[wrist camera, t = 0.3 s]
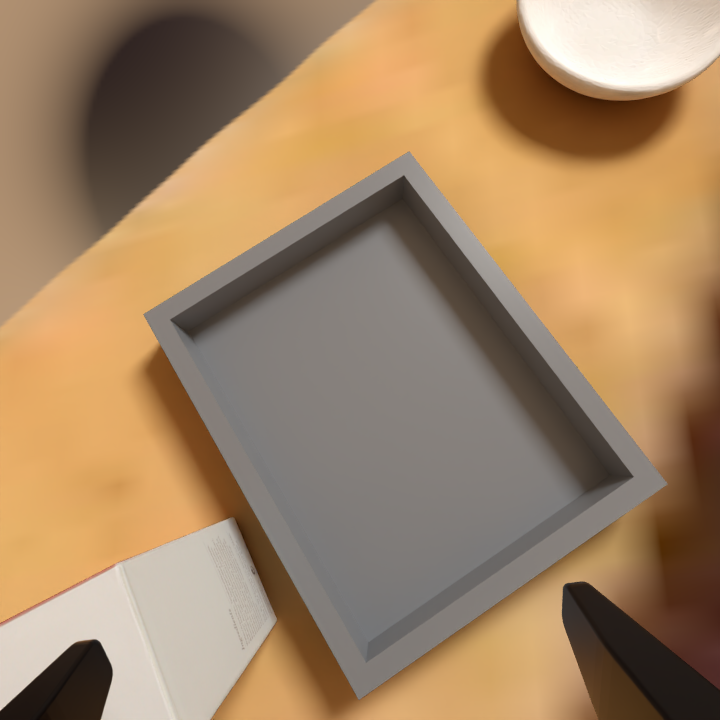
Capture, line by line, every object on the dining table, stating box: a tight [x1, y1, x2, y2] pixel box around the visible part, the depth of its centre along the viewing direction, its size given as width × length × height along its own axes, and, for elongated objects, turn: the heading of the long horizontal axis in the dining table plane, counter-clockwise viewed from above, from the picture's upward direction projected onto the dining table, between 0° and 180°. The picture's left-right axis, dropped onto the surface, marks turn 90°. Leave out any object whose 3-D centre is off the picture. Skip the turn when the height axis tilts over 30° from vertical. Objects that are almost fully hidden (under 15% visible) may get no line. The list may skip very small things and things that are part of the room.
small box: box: [0, 517, 277, 720], centre depth 18 cm, size 8×6×10 cm
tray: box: [143, 152, 667, 700], centre depth 23 cm, size 20×16×3 cm
